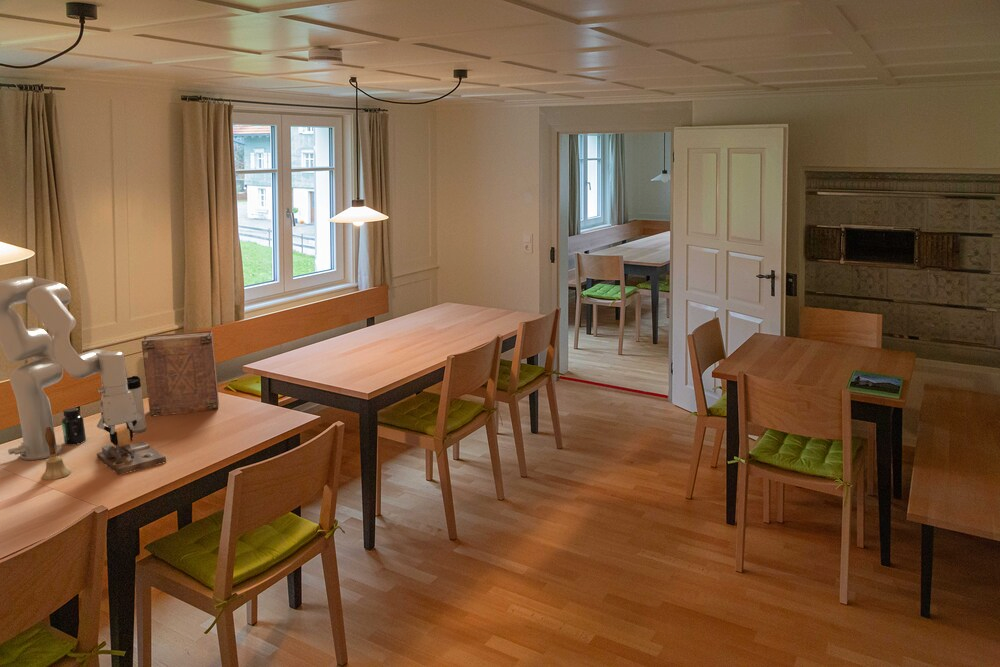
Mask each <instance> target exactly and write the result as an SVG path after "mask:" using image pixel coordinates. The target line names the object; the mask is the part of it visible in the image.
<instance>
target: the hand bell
mask: <svg viewBox="0 0 1000 667" xmlns="http://www.w3.org/2000/svg"><path fill="white" fill-rule="evenodd" d="M54 432H55V431H54ZM54 432H53V430H52V429H51V427H47V428H46V433H45V438H46V441H47V444H48V445H49V450H50V457H48V458H46V460H45V465H46V466H45V470H44V472H43V473H42V476H41V479H43V480H45V481H47V480H50V481H51V480H59V479H62V477H63V478H65V477H67V476H70V474H71V473H72V470H71V469H70V468H68V466H66V465H65V463H64V460H63V458H62V456H58V454H57V455H56V452H55V446H54V445H55V439H56V434H55V435H54Z"/></svg>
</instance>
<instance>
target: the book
mask: <svg viewBox="0 0 1000 667" xmlns="http://www.w3.org/2000/svg"><path fill="white" fill-rule="evenodd" d="M143 338H144V339H143V340H141V349H142V358H143V366H144V374H145V382H146V390H147V391H146V392H147V400H148V408H149V416H151V417H155V416H154V415H159V416H164V415H163V414H168V415H174V414H173V413H177V414H184V413H185V412H187V413H195V412H203V411H204V410H206V411H214V410H219V405H220V400H219V399H220V398H219V397H220V396H219V390H218V376H217V367H216V358H215V357H216V356H215V355H216V354H215V348H214V347H215V346H214V332H213V331H212V330H206V331H194V332H179V333H178V332H177V333H164V334H151V335H144V337H143ZM185 414H186V413H185Z"/></svg>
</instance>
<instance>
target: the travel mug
mask: <svg viewBox="0 0 1000 667" xmlns="http://www.w3.org/2000/svg"><path fill="white" fill-rule="evenodd" d="M127 382H128V390H130V391H131V392H132V394H133V398H134V401H135V405H136V410H137V412H138V413H139V414H140V415H141V416H142V418H141V419H140V420H139V421H138V422H137V423H136V425H135V426H134V428H133V429H132V430H133V433H135V434H140V432H141V433H143V431H144V432H146V431H147V424H146V416H145V407H144V400H143V399H144V398H143V390H142V384H141V378H140V377H139V376H138V375H133V376H129V377H127Z"/></svg>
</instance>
